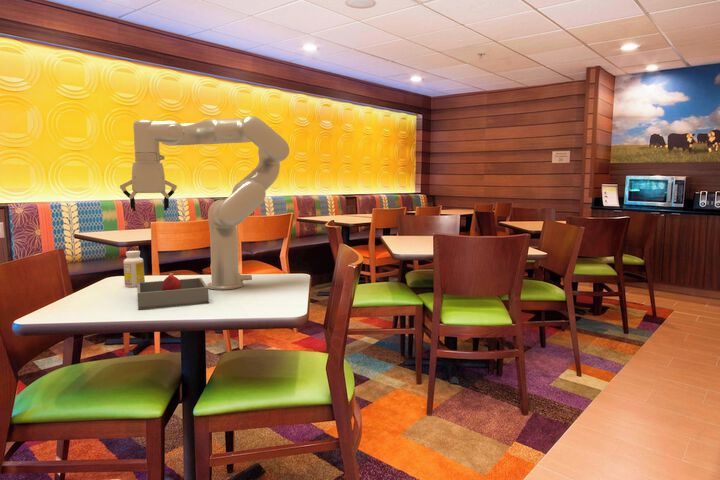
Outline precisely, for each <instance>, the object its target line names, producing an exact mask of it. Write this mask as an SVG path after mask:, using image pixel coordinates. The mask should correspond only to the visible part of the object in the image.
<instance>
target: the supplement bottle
mask: <svg viewBox="0 0 720 480" xmlns="http://www.w3.org/2000/svg"><path fill="white" fill-rule="evenodd" d="M140 255H141V251H140V250H128V251H127V250H126V251H125V256H126V258H125V259H123V274H124V276H123V278H124V285H125V288H137V283H141V282H146V281H145V266H144V258H142V257H140Z"/></svg>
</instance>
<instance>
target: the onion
mask: <svg viewBox="0 0 720 480" xmlns="http://www.w3.org/2000/svg"><path fill="white" fill-rule="evenodd" d="M179 280H180V279H179V278H178V277H176V276H175V275H174V273H172V272H171V273H169V275H168V276H167V277H166V278H165V279H164V280H162V281H163V283H162V291H166V290H178V289H181V282H180V281H179Z"/></svg>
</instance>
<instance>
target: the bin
mask: <svg viewBox="0 0 720 480" xmlns="http://www.w3.org/2000/svg"><path fill="white" fill-rule="evenodd" d="M163 281H164V280H158V281H157V280H155V281H154V280H153V281H145V282H141V283H137V287H136V288H137V290H136V292H137V308H138V309H137V310H138V311H143V310H153V309H155V310H156V309H164V308H173V307H182V306H184V307H185V306H193V305H194V306H195V305H204V304H205V305H206V304H210V302H209V288H208V286H207V284H206V283H205V281H204V280H203V278H202V277H196V278H195V277H194V278H184V279H183V278H181V279H179V281H180V282H181V289H178V290H166V291H162V283H163Z"/></svg>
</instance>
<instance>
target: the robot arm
mask: <svg viewBox="0 0 720 480" xmlns="http://www.w3.org/2000/svg"><path fill="white" fill-rule="evenodd" d="M132 127H133V143H134V144H133V145H134V160H135V161H134V162H132V166H131V180H129V181H126V182H124V183H123V184H120V185H119V188H120V190H121V191H122V192H123V194H124V195H125V196H126V197H127V198H129V203H130V209H132V211H133V212H136V199H135V197H136V195H137V194H160V193H161V195H162V196H163V197H164V198H163V210H164V211H168V210H167V209H169V207H170V200H169V199H170V198H171V197H172V195H174V193H175V191H176V189H177V187H178V185H177V184H174V183H172V182H170V181H169V180H166V177H165V176H166V175H165V171H164V169H165V168H164V165H163V162H161V161H163V160H165V155H162V154H161V152H160V143H161V144H163V145H165V146H169V147H171V146H173V147H174V146H193V145H194V146H195V145H219V144H220V145H222V144H241V143H242V144H243V143H244V144H245V143H246V144H247V143H252V144H254V145H255V146H256V147H258V152H257V154H258V163H257V165H256V167H255V168H254V169H252V171H251V172H249V174H247V175H246V176H245V177H244V178H242V179H241V180H240V181H238V182H237V183H236V184H235V185H234V187H233V188H232V191H231V194H229V196H228V197H226V198H225V199H217V200H215V201H213V202H212V203H211V204H210V206H209V208H208V210H207V220H208V228H209V229H208V230H209V242H210V245H209V247H210V267H211V268H210V269H211V271H210V272H211V282H209V283H207V284H206V285H207V286H208V290H209V289H210V290H218V291H219V290H220V291H223V290H233V289H239V288H242V287H243V286H244V281H252V280H253V275H252V274H241V273H240V272H239V250H238V249H239V248H238V247H239V245H238V244H239V243H238V242H239V241H238V240H239V239H238V225H241V224H242V222H243V221H245V220H246V219H247V218H248V217H249V216H250V215H252V214H253V213H254V212H255V211H256V210H257V209H258V208H259V207H260V206H261V205H262V204H263V202H264V200H265V199H266V194H267V192H266V191H267V190H268V189H269V188H270V187H271V186H272V185H274V183H275V182H276V180H277V179H278V177H279V175H280V170H281V168H280V167H281V162H282V161H284V160H286V159H287V158H288V157H289V154H290V146H289V144H288V142H287V141H286V139H285V138H283V137H282V136H281V135H280V134H279V133H278V132H276V130H274V129H273V128H272V127H271V126H269V124H267V123H266V122H265V121H264V120H263V119H261V118H259V117H257V116H254V115H248V116H246V117H245V118H244V117H243V118H211V119H206V120H202V121H197V122H192V123H180V122H178V121H176V120H158V121H154V120H150V119H138V120H135V121H134V122H133V126H132ZM129 186H131V189H132V192H131V193H130V192H129V191H128V190H127V189H126V188H127V187H129ZM166 186H168V187H170V188H171V189H170V191H169V192H168V193H167V192H166Z"/></svg>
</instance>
